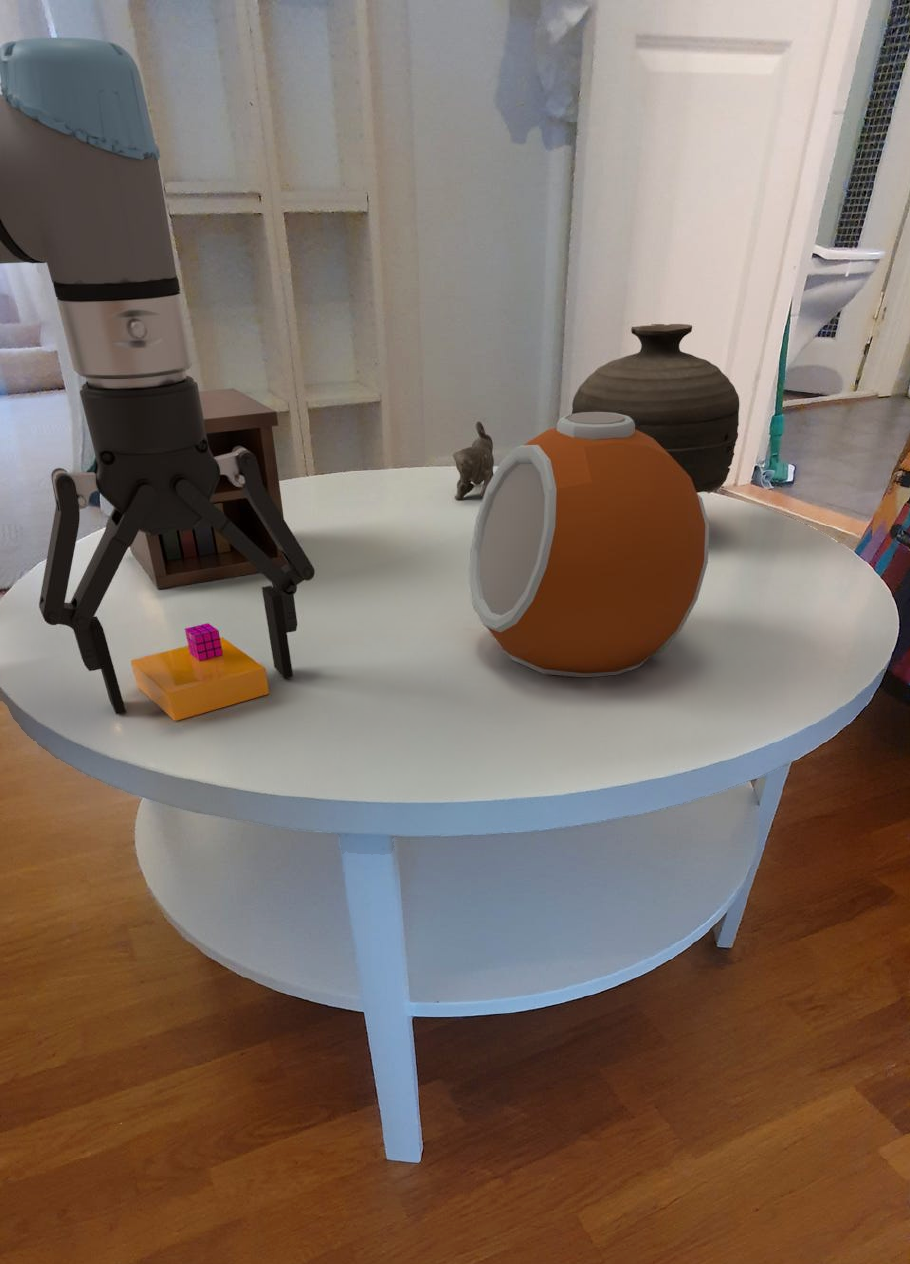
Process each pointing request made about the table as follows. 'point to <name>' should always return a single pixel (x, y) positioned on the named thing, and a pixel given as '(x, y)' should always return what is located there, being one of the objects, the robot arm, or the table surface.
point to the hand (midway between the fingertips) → (203, 689)
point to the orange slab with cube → (200, 675)
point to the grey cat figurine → (475, 464)
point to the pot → (671, 402)
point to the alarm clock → (588, 548)
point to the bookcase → (220, 501)
